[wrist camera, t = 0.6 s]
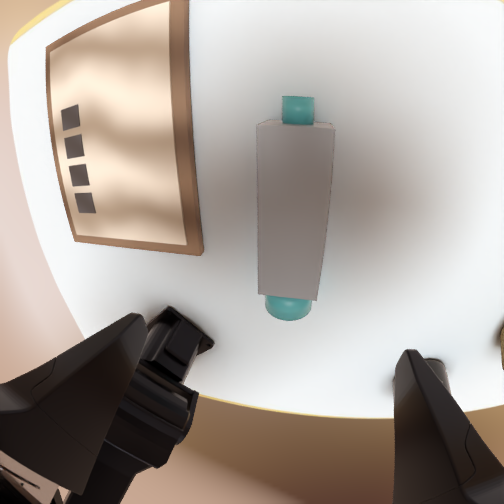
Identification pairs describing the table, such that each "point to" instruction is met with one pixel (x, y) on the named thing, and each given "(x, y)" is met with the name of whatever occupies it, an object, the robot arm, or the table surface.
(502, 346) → the squeeze bottle
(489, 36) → the table surface
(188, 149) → the brown framed board
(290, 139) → the marker
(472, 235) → the table surface
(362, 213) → the table surface
